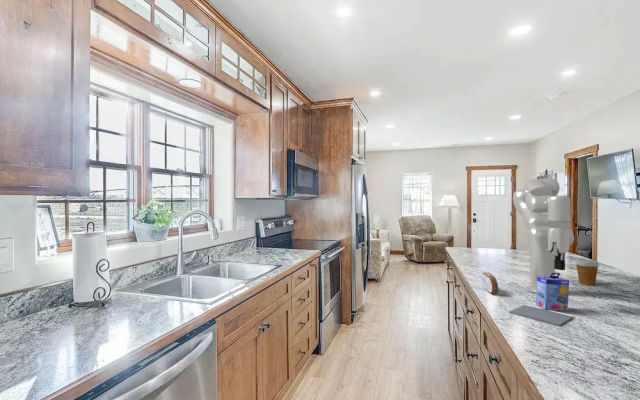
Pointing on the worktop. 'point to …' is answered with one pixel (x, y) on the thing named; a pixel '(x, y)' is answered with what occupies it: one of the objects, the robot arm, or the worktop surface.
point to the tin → (490, 283)
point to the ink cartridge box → (552, 292)
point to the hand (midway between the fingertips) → (559, 269)
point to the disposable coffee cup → (587, 271)
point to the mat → (542, 315)
